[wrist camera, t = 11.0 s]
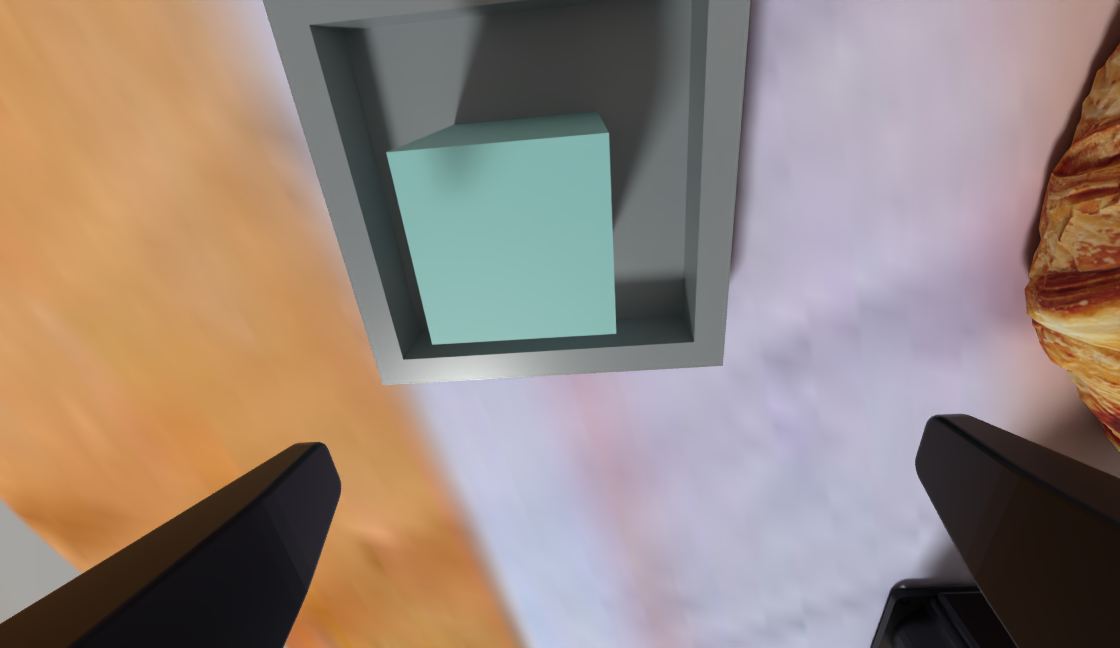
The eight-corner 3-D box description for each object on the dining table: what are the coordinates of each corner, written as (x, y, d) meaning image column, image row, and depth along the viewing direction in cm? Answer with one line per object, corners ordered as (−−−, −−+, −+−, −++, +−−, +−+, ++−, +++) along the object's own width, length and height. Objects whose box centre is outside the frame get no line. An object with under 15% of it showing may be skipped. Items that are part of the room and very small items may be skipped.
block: (604, 251, 17) (616, 333, 12) (477, 260, 17) (432, 344, 12) (597, 111, 15) (608, 132, 9) (453, 124, 15) (386, 152, 10)
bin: (702, 325, 19) (722, 365, 16) (408, 343, 20) (383, 385, 17) (721, -49, 14) (756, -79, 11) (315, -2, 14) (256, -19, 12)
